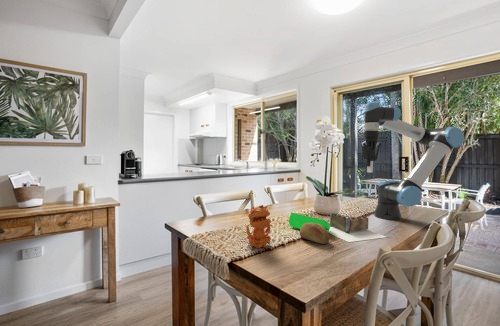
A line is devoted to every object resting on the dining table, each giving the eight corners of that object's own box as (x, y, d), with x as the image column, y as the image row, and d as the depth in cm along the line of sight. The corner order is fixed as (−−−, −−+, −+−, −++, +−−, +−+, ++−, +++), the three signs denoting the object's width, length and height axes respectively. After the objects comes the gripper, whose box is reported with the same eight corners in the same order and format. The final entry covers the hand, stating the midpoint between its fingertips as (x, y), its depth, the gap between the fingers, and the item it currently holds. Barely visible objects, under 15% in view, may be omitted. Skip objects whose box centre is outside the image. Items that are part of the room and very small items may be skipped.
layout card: (352, 224, 144) (352, 223, 144) (387, 237, 123) (387, 236, 122) (317, 227, 136) (317, 227, 136) (348, 242, 115) (348, 241, 115)
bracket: (329, 240, 128) (333, 226, 130) (320, 234, 122) (324, 219, 124) (296, 230, 142) (300, 218, 144) (286, 224, 136) (291, 212, 138)
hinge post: (347, 232, 129) (348, 216, 129) (350, 233, 127) (351, 217, 127) (344, 232, 129) (344, 216, 128) (347, 233, 127) (347, 217, 126)
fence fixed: (332, 225, 141) (332, 211, 140) (346, 232, 130) (347, 217, 129) (329, 225, 140) (329, 212, 140) (343, 232, 129) (344, 217, 129)
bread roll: (320, 248, 108) (321, 229, 107) (293, 238, 119) (294, 221, 119) (333, 243, 114) (334, 225, 113) (306, 234, 125) (307, 218, 125)
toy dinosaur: (253, 252, 101) (254, 207, 100) (241, 243, 111) (242, 202, 110) (277, 248, 106) (278, 205, 105) (263, 240, 116) (264, 200, 115)
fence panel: (350, 231, 128) (351, 218, 128) (348, 231, 129) (349, 217, 129) (368, 229, 133) (368, 216, 133) (366, 228, 134) (366, 215, 134)
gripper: (367, 129, 138) (366, 173, 139) (385, 130, 143) (384, 172, 144) (357, 130, 145) (355, 171, 146) (374, 131, 150) (373, 171, 151)
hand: (369, 172), depth 145 cm, fingers closed
